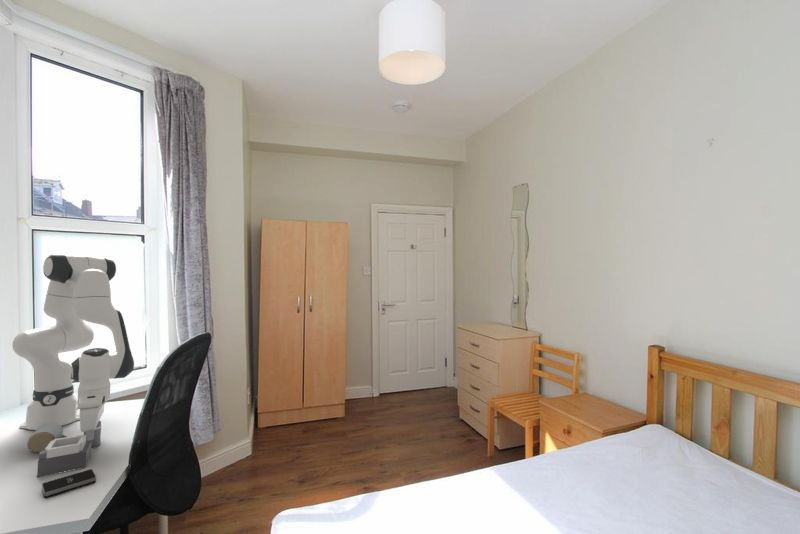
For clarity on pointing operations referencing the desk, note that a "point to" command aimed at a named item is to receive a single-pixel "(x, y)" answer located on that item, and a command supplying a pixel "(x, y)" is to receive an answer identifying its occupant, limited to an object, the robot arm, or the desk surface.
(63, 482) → the external hard drive
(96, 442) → the lens
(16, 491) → the desk surface
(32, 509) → the desk surface
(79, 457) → the camera body
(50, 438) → the ceramic mug
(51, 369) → the robot arm
